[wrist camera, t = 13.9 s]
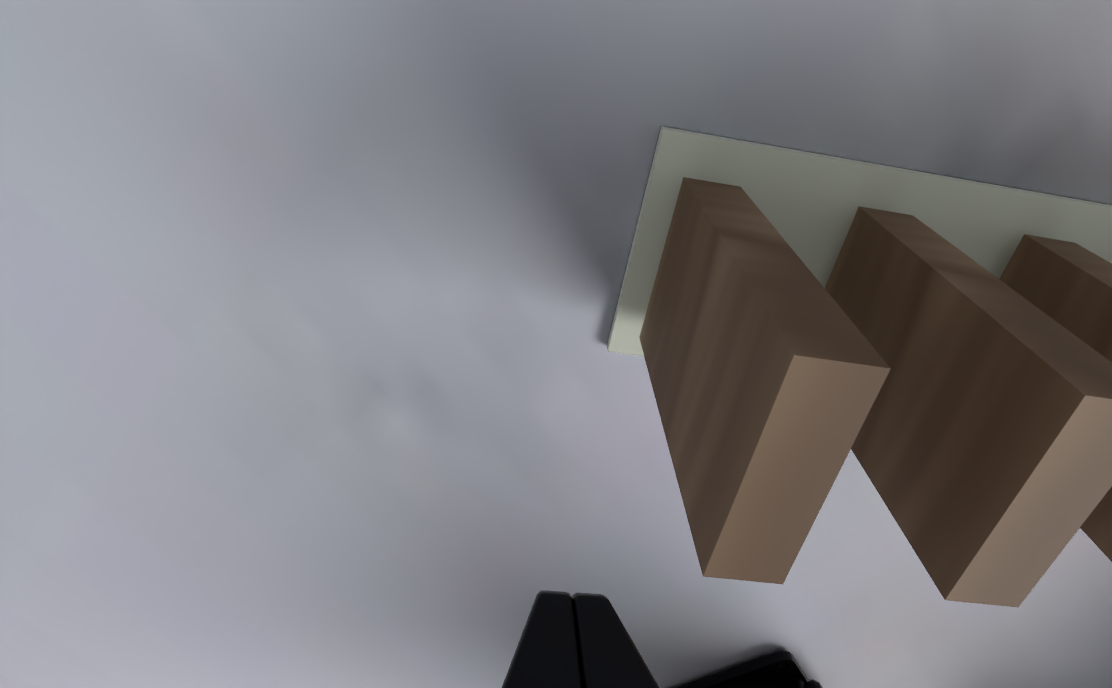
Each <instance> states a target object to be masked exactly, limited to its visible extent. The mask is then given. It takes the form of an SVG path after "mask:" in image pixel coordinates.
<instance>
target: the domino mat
mask: <svg viewBox="0 0 1112 688" xmlns="http://www.w3.org/2000/svg"><path fill="white" fill-rule="evenodd" d="M683 177H686V178H692V179H698V180H704V181H710V182H716V183H722V184H728V185H734V186H740V187H741V188H742V189H743V190H744V191H745V193H746V194H747V195H748V196H749V197H750V199H751V200H752V201H753V202H754V203H755V205H756V206H757V207H758V208H759V209H760V211H761V212H762V213H763V214H764V216H765V217H766V218H767V219H768V220H769V222H770V223H771V224H772V225H773V226H774V228H775V229H776V230H777V231H778V233H779V234H780V235H781V236H782V237H783V239H784V240H785V241H786V242H787V243H788V245H789V246H790V247H791V248H792V249H793V251H794V252H795V253H796V254H797V256H798V257H799V258H800V259H801V260H802V262H803V263H804V264H805V265H806V266H807V268H808V269H809V270H810V271H811V272H812V274H813V275H814V276H815V277H816V279H817V280H818V281H819V282H820V283H821V285H822V286H823V287H824V288H825V287H826V284H827V282H828V279H829V277H830V275H831V272H832V270H833V267H834V265H835V263H836V260H837V258H838V255H839V253H840V251H841V248H842V246H843V243H844V241H845V238H846V236H847V234H848V231H849V229H850V226H851V224H852V222H853V219H854V217H855V214H856V212H857V209H858V207H859V206H860V207H866V208H872V209H878V210H884V211H890V212H896V213H902V214H908V215H913V216H914V217H916V218H917V219H918V220H920V221H921V222H923V223H924V224H925V225H927V226H928V227H929V228H931V229H932V230H933V231H935V232H936V233H937V234H939V235H940V236H941V237H943V238H944V239H945V240H947V241H948V242H950V243H951V244H952V245H954V246H955V247H956V248H958V249H959V250H960V251H962V252H963V253H964V254H966V255H967V256H968V257H970V258H971V259H973V260H974V261H975V262H977V263H978V264H979V265H981V266H982V267H983V268H985V269H986V270H987V271H989V272H990V273H991V274H993V275H994V276H995V277H997V278H998V279H1000V277H1001V275H1002V273H1003V271H1004V270H1005V268H1006V266H1007V264H1008V262H1009V261H1010V259H1011V257H1012V255H1013V253H1014V252H1015V250H1016V248H1017V246H1018V244H1019V243H1020V241H1021V239H1022V237H1023V235H1024V234H1026V235H1032V236H1038V237H1044V238H1050V239H1056V240H1062V241H1068V242H1074V243H1077V244H1078V245H1080V246H1082V247H1084V248H1085V249H1087V250H1089V251H1091V252H1092V253H1094V254H1096V255H1098V256H1099V257H1101V258H1103V259H1105V260H1106V261H1108V262H1110V263H1112V205H1107V204H1102V203H1096V202H1090V201H1085V200H1079V199H1073V198H1067V197H1062V196H1056V195H1050V194H1045V193H1039V192H1033V191H1028V190H1022V189H1016V188H1010V187H1005V186H999V185H993V184H988V183H982V182H976V181H971V180H965V179H959V178H953V177H948V176H942V175H936V174H931V173H925V172H919V171H914V170H908V169H902V168H896V167H891V166H885V165H879V164H874V163H868V162H862V161H856V160H851V159H845V158H839V157H834V156H828V155H822V154H817V153H811V152H805V151H799V150H794V149H788V148H782V147H777V146H771V145H765V144H760V143H754V142H748V141H742V140H737V139H731V138H725V137H720V136H714V135H708V134H703V133H697V132H691V131H685V130H680V129H674V128H668V127H663V126H661V130H660V134H659V138H658V142H657V146H656V150H655V154H654V158H653V162H652V166H651V170H650V174H649V179H648V183H647V187H646V191H645V195H644V199H643V203H642V207H641V211H640V215H639V219H638V223H637V227H636V231H635V235H634V239H633V243H632V247H631V251H630V255H629V259H628V263H627V267H626V271H625V275H624V279H623V283H622V287H621V291H620V295H619V299H618V303H617V307H616V312H615V316H614V320H613V324H612V328H611V332H610V336H609V340H608V344H607V350H608V352H615V353H623V354H630V355H638V356H644V353H643V350H642V346H641V342H640V338H639V337H640V333H641V329H642V326H643V322H644V318H645V315H646V311H647V307H648V304H649V300H650V296H651V293H652V289H653V286H654V282H655V278H656V275H657V271H658V267H659V264H660V260H661V256H662V253H663V249H664V245H665V242H666V238H667V234H668V231H669V227H670V223H671V220H672V216H673V212H674V209H675V205H676V202H677V198H678V194H679V191H680V187H681V183H682V180H683Z"/></svg>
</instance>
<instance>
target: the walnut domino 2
mask: <svg viewBox="0 0 1112 688" xmlns="http://www.w3.org/2000/svg"><path fill="white" fill-rule="evenodd" d="M825 289H826V291H827V292H828V293H829V294H830V296H831V297H832V298H833V299H834V300H835V302H836V303H837V304H838V305H839V306H840V308H841V309H842V310H843V311H844V312H845V314H846V315H847V316H848V317H849V319H850V320H851V321H852V322H853V323H854V325H855V326H856V327H857V328H858V329H859V331H860V332H861V333H862V334H863V335H864V337H865V338H866V339H867V340H868V342H869V343H870V344H871V345H872V346H873V348H874V349H875V350H876V351H877V352H878V354H879V355H880V356H881V357H882V358H883V360H884V361H885V362H886V363H887V365H888V366H889V367H890V368H891V369H890V371H889V373H888V375H887V377H886V379H885V381H884V383H883V385H882V387H881V389H880V391H879V393H878V395H877V397H876V399H875V401H874V403H873V405H872V407H871V409H870V411H869V413H868V415H867V417H866V419H865V421H864V423H863V425H862V427H861V429H860V431H859V433H858V435H857V437H856V439H855V441H854V443H853V445H852V447H851V449H852V451H853V453H854V454H855V456H856V457H857V459H858V461H859V462H860V464H861V465H862V467H863V469H864V470H865V472H866V473H867V475H868V477H869V478H870V480H871V482H872V483H873V485H874V486H875V488H876V490H877V491H878V493H879V494H880V496H881V498H882V499H883V501H884V502H885V504H886V506H887V507H888V509H889V511H890V512H891V514H892V515H893V517H894V519H895V520H896V522H897V523H898V525H899V527H900V528H901V530H902V532H903V533H904V535H905V536H906V538H907V540H908V541H909V543H910V544H911V546H912V548H913V549H914V551H915V552H916V554H917V556H918V557H919V559H920V561H921V562H922V564H923V565H924V567H925V569H926V570H927V572H928V573H929V575H930V577H931V578H932V580H933V581H934V583H935V585H936V586H937V588H938V590H939V591H940V593H941V594H942V596H943V598H944V599H945V600H950V601H960V602H970V603H981V604H991V605H1001V606H1011V607H1019V606H1020V604H1021V603H1022V602H1023V600H1024V599H1025V598H1026V596H1027V595H1028V594H1029V593H1030V591H1031V590H1032V589H1033V587H1034V586H1035V585H1036V584H1037V582H1038V581H1039V580H1040V578H1041V577H1042V576H1043V574H1044V573H1045V572H1046V571H1047V569H1048V568H1049V567H1050V565H1051V564H1052V563H1053V562H1054V560H1055V559H1056V558H1057V556H1058V555H1059V554H1060V553H1061V551H1062V550H1063V549H1064V547H1065V546H1066V545H1067V543H1068V542H1069V541H1070V540H1071V538H1072V537H1073V536H1074V534H1075V533H1076V532H1077V531H1078V529H1079V528H1080V527H1081V525H1082V524H1083V523H1084V521H1085V520H1086V519H1087V518H1088V516H1089V515H1090V514H1091V512H1092V511H1093V510H1094V509H1095V507H1096V506H1097V505H1098V503H1099V502H1100V501H1101V500H1102V498H1103V497H1104V496H1105V494H1106V493H1107V492H1108V490H1109V489H1110V488H1111V487H1112V362H1110V361H1109V360H1108V359H1106V358H1105V357H1104V356H1102V355H1101V354H1100V353H1098V352H1097V351H1095V350H1094V349H1093V348H1091V347H1090V346H1089V345H1087V344H1086V343H1085V342H1083V341H1082V340H1081V339H1079V338H1078V337H1077V336H1075V335H1074V334H1073V333H1071V332H1070V331H1068V330H1067V329H1066V328H1064V327H1063V326H1062V325H1060V324H1059V323H1058V322H1056V321H1055V320H1054V319H1052V318H1051V317H1050V316H1048V315H1047V314H1045V313H1044V312H1043V311H1041V310H1040V309H1039V308H1037V307H1036V306H1035V305H1033V304H1032V303H1031V302H1029V301H1028V300H1027V299H1025V298H1024V297H1023V296H1021V295H1020V294H1018V293H1017V292H1016V291H1014V290H1013V289H1012V288H1010V287H1009V286H1008V285H1006V284H1005V283H1004V282H1002V281H1001V280H1000V279H998V278H997V277H995V276H994V275H993V274H991V273H990V272H989V271H987V270H986V269H985V268H983V267H982V266H981V265H979V264H978V263H977V262H975V261H974V260H973V259H971V258H970V257H968V256H967V255H966V254H964V253H963V252H962V251H960V250H959V249H958V248H956V247H955V246H954V245H952V244H951V243H950V242H948V241H947V240H945V239H944V238H943V237H941V236H940V235H939V234H937V233H936V232H935V231H933V230H932V229H931V228H929V227H928V226H927V225H925V224H924V223H923V222H921V221H920V220H918V219H917V218H916V217H914V216H913V215H908V214H902V213H896V212H890V211H884V210H878V209H872V208H866V207H860V206H859V207H858V209H857V212H856V214H855V217H854V219H853V222H852V224H851V226H850V229H849V231H848V234H847V236H846V238H845V241H844V243H843V246H842V248H841V251H840V253H839V255H838V258H837V260H836V263H835V265H834V267H833V270H832V272H831V275H830V277H829V279H828V282H827V284H826V287H825Z"/></svg>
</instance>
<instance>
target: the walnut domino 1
mask: <svg viewBox="0 0 1112 688" xmlns="http://www.w3.org/2000/svg"><path fill="white" fill-rule="evenodd" d="M639 338H640V342H641V346H642V350H643V353H644V357H645V361H646V365H647V368H648V372H649V376H650V380H651V383H652V387H653V391H654V395H655V398H656V402H657V406H658V410H659V413H660V417H661V421H662V424H663V428H664V432H665V436H666V439H667V443H668V447H669V451H670V454H671V458H672V462H673V466H674V469H675V473H676V477H677V481H678V484H679V488H680V492H681V496H682V499H683V503H684V507H685V511H686V514H687V518H688V522H689V526H690V529H691V533H692V537H693V541H694V544H695V548H696V552H697V555H698V559H699V563H700V567H701V570H702V574H703V576H705V577H715V578H726V579H736V580H746V581H756V582H766V583H776V584H783V583H784V581H785V579H786V577H787V575H788V573H789V571H790V569H791V567H792V565H793V563H794V561H795V559H796V557H797V555H798V553H799V551H800V549H801V547H802V545H803V543H804V541H805V539H806V537H807V535H808V533H809V531H810V529H811V527H812V525H813V523H814V521H815V519H816V517H817V515H818V513H819V511H820V509H821V507H822V505H823V503H824V501H825V499H826V497H827V495H828V493H829V491H830V489H831V487H832V485H833V483H834V481H835V479H836V477H837V475H838V473H839V471H840V469H841V467H842V465H843V463H844V461H845V459H846V457H847V455H848V453H849V451H850V449H851V447H852V445H853V443H854V441H855V439H856V437H857V435H858V433H859V431H860V429H861V427H862V425H863V423H864V421H865V419H866V417H867V415H868V413H869V411H870V409H871V407H872V405H873V403H874V401H875V399H876V397H877V395H878V393H879V391H880V389H881V387H882V385H883V383H884V381H885V379H886V377H887V375H888V373H889V371H890V369H891V368H890V367H889V366H888V365H887V363H886V362H885V361H884V360H883V358H882V357H881V356H880V355H879V354H878V352H877V351H876V350H875V349H874V348H873V346H872V345H871V344H870V343H869V342H868V340H867V339H866V338H865V337H864V335H863V334H862V333H861V332H860V331H859V329H858V328H857V327H856V326H855V325H854V323H853V322H852V321H851V320H850V319H849V317H848V316H847V315H846V314H845V312H844V311H843V310H842V309H841V308H840V306H839V305H838V304H837V303H836V302H835V300H834V299H833V298H832V297H831V296H830V294H829V293H828V292H827V291H826V289H825V288H824V287H823V286H822V285H821V283H820V282H819V281H818V280H817V279H816V277H815V276H814V275H813V274H812V272H811V271H810V270H809V269H808V268H807V266H806V265H805V264H804V263H803V262H802V260H801V259H800V258H799V257H798V256H797V254H796V253H795V252H794V251H793V249H792V248H791V247H790V246H789V245H788V243H787V242H786V241H785V240H784V239H783V237H782V236H781V235H780V234H779V233H778V231H777V230H776V229H775V228H774V226H773V225H772V224H771V223H770V222H769V220H768V219H767V218H766V217H765V216H764V214H763V213H762V212H761V211H760V209H759V208H758V207H757V206H756V205H755V203H754V202H753V201H752V200H751V199H750V197H749V196H748V195H747V194H746V193H745V191H744V190H743V189H742V188H741V187H740V186H734V185H728V184H722V183H716V182H710V181H704V180H698V179H692V178H686V177H683V180H682V183H681V187H680V191H679V194H678V198H677V202H676V205H675V209H674V212H673V216H672V220H671V223H670V227H669V231H668V234H667V238H666V242H665V245H664V249H663V253H662V256H661V260H660V264H659V267H658V271H657V275H656V278H655V282H654V286H653V289H652V293H651V296H650V300H649V304H648V307H647V311H646V315H645V318H644V322H643V326H642V329H641V333H640V337H639Z"/></svg>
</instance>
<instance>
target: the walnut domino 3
mask: <svg viewBox="0 0 1112 688" xmlns="http://www.w3.org/2000/svg"><path fill="white" fill-rule="evenodd" d="M1000 280H1001V281H1002V282H1004V283H1005V284H1006V285H1008V286H1009V287H1010V288H1012V289H1013V290H1014V291H1016V292H1017V293H1018V294H1020V295H1021V296H1023V297H1024V298H1025V299H1027V300H1028V301H1029V302H1031V303H1032V304H1033V305H1035V306H1036V307H1037V308H1039V309H1040V310H1041V311H1043V312H1044V313H1045V314H1047V315H1048V316H1050V317H1051V318H1052V319H1054V320H1055V321H1056V322H1058V323H1059V324H1060V325H1062V326H1063V327H1064V328H1066V329H1067V330H1068V331H1070V332H1071V333H1073V334H1074V335H1075V336H1077V337H1078V338H1079V339H1081V340H1082V341H1083V342H1085V343H1086V344H1087V345H1089V346H1090V347H1091V348H1093V349H1094V350H1095V351H1097V352H1098V353H1100V354H1101V355H1102V356H1104V357H1105V358H1106V359H1108V360H1109V361H1110V362H1112V263H1110V262H1108V261H1106V260H1105V259H1103V258H1101V257H1099V256H1098V255H1096V254H1094V253H1092V252H1091V251H1089V250H1087V249H1085V248H1084V247H1082V246H1080V245H1078V244H1077V243H1074V242H1068V241H1062V240H1056V239H1050V238H1044V237H1038V236H1032V235H1026V234H1024V235H1023V237H1022V239H1021V241H1020V243H1019V244H1018V246H1017V248H1016V250H1015V252H1014V253H1013V255H1012V257H1011V259H1010V261H1009V262H1008V264H1007V266H1006V268H1005V270H1004V271H1003V273H1002V275H1001V277H1000ZM1080 528H1081V529H1082V530H1083V531H1084V532H1085V533H1086V534H1087V535H1088V537H1089V538H1090V539H1091V540H1092V541H1093V542H1094V543H1095V544H1096V545H1097V546H1098V547H1099V548H1100V550H1101V551H1102V552H1103V553H1104V554H1105V555H1106V556H1107V557H1108V558H1109V559H1110V560H1111V561H1112V487H1111V488H1110V489H1109V490H1108V492H1107V493H1106V494H1105V496H1104V497H1103V498H1102V500H1101V501H1100V502H1099V503H1098V505H1097V506H1096V507H1095V509H1094V510H1093V511H1092V512H1091V514H1090V515H1089V516H1088V518H1087V519H1086V520H1085V521H1084V523H1083V524H1082V525H1081V527H1080Z"/></svg>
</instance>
